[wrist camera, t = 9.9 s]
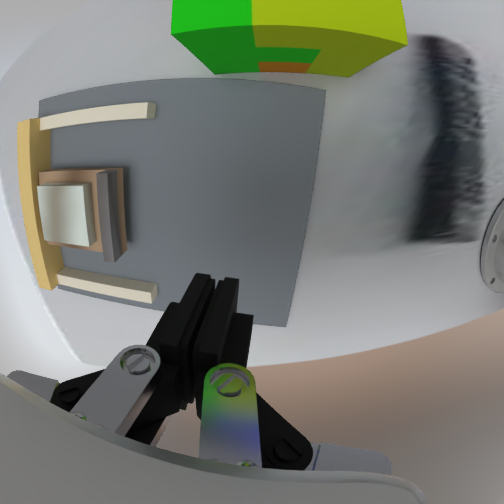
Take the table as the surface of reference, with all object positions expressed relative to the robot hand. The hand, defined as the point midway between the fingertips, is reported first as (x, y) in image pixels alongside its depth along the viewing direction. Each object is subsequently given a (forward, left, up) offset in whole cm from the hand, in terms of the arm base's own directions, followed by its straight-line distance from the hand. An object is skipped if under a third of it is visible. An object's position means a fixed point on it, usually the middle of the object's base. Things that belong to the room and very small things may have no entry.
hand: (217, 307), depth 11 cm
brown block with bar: (+14, 0, -12) cm, 18 cm away
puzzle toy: (-1, -16, -13) cm, 21 cm away
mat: (+8, 0, -12) cm, 15 cm away
